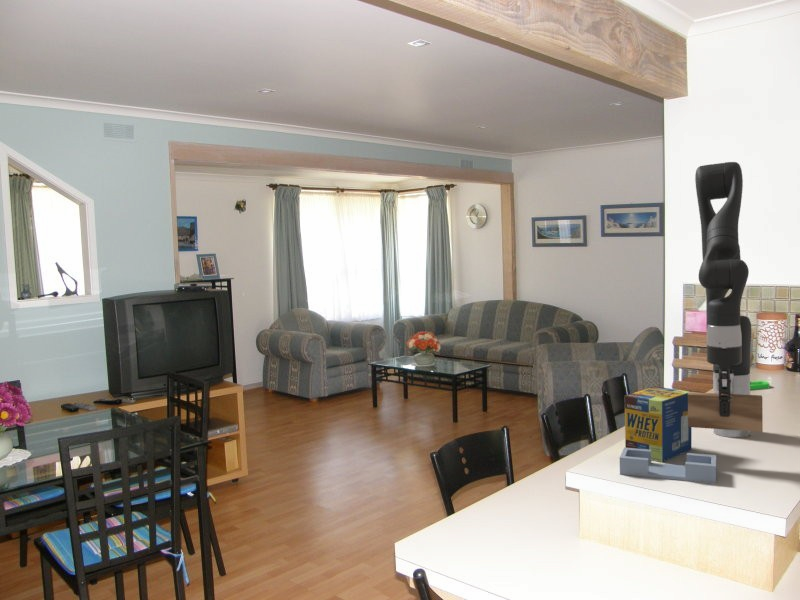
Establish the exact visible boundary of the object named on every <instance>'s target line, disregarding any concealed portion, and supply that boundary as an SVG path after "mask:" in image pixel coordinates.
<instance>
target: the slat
mask: <svg viewBox="0 0 800 600" xmlns="http://www.w3.org/2000/svg"><path fill="white" fill-rule="evenodd" d="M721 395H728V394H721ZM718 396H719V393H713V392H695V391H694V392H693V391H689V392H688V427H691V428H696V429H697V428H698V429H713V430H714V429H725V430H741V431H750V432H756V433H757V432H758V433H759V432H760V433H763V428H764V427H763V422H764V421H763V418H764V417H763V395H762V394H761V395H759V394H750V395H742V394H730V397H731V400H730V416H729V417H721V416H720V409H719V399H718Z"/></svg>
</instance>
